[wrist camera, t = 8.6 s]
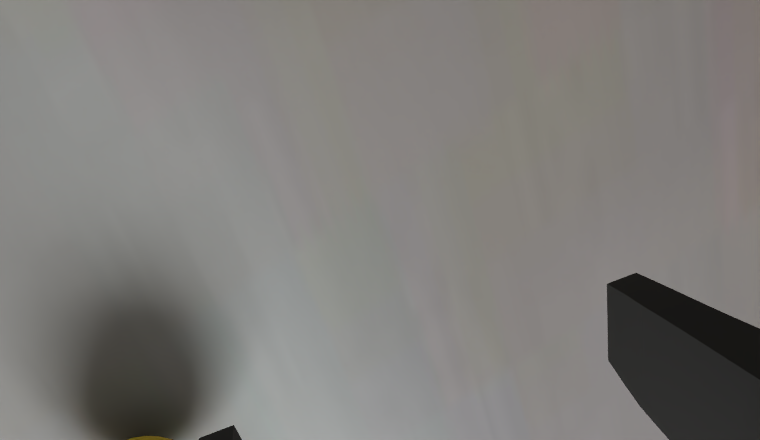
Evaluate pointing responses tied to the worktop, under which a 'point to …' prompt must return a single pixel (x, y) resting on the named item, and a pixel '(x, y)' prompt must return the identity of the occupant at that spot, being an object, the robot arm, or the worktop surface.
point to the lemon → (149, 438)
